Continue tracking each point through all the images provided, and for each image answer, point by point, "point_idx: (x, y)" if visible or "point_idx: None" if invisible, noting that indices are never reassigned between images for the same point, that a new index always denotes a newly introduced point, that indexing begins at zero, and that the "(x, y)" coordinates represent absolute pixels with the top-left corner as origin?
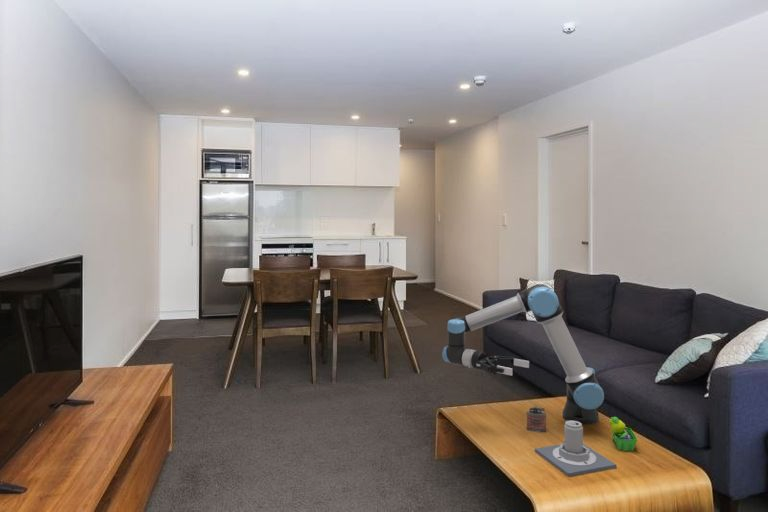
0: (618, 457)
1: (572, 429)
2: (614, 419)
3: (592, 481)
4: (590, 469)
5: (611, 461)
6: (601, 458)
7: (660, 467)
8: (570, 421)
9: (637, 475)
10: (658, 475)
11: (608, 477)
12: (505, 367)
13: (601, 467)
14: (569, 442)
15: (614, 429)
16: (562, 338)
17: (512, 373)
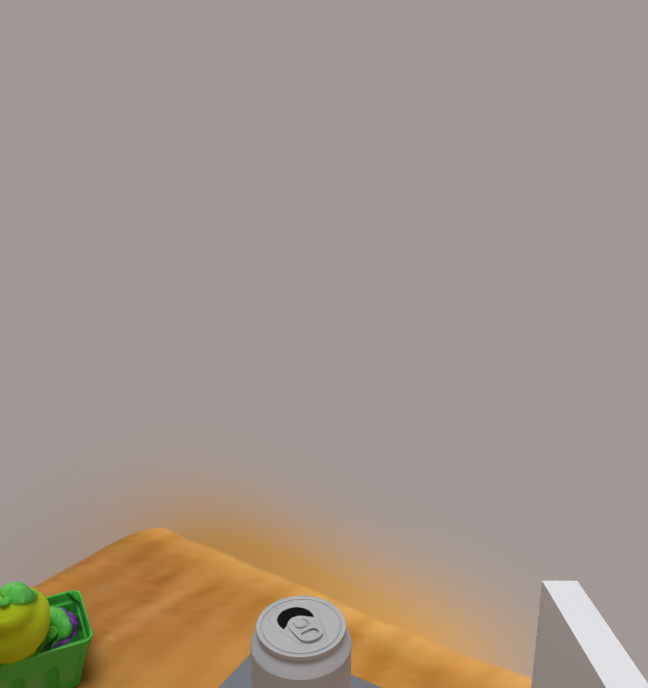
0: (163, 667)
1: (347, 630)
2: (28, 590)
3: (436, 673)
4: (377, 686)
5: (250, 654)
6: (246, 686)
7: (178, 575)
8: (282, 642)
9: None
10: (240, 569)
11: (361, 648)
12: (632, 677)
13: None
14: None
15: (45, 629)
16: None
17: (535, 659)
